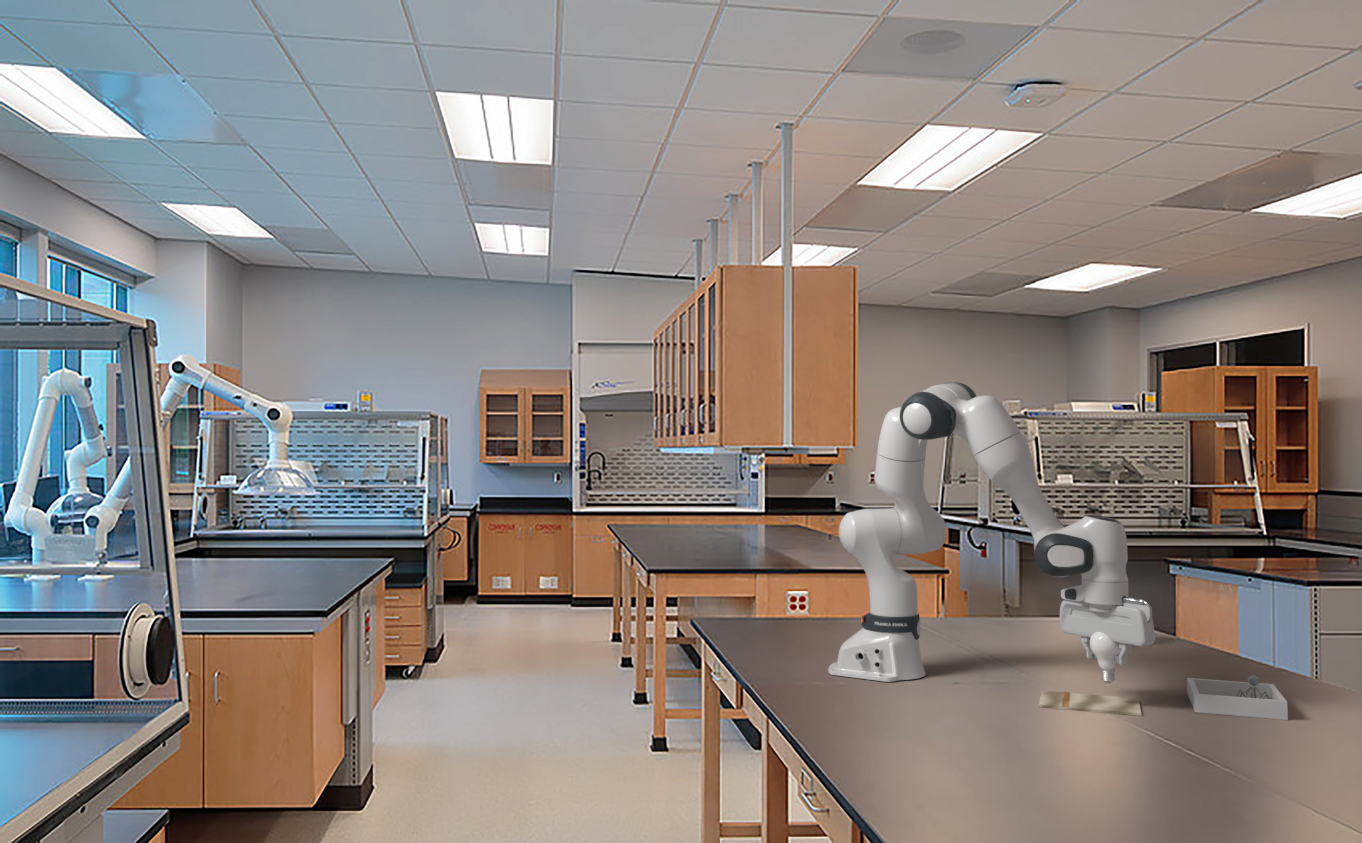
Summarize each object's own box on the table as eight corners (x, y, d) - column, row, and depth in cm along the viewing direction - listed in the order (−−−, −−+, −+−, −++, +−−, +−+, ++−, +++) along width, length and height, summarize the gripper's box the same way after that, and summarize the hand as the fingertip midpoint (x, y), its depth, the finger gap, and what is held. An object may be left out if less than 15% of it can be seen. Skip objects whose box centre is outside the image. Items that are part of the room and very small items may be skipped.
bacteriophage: (1237, 711, 199) (1236, 677, 199) (1231, 701, 206) (1231, 669, 206) (1277, 714, 196) (1276, 680, 196) (1270, 704, 203) (1269, 672, 204)
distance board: (1038, 706, 201) (1038, 703, 202) (1041, 692, 213) (1041, 689, 214) (1141, 715, 194) (1141, 712, 194) (1138, 700, 206) (1138, 697, 206)
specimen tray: (1194, 712, 197) (1194, 694, 197) (1187, 694, 212) (1187, 677, 212) (1287, 719, 191) (1287, 701, 191) (1273, 700, 206) (1273, 683, 206)
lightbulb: (1128, 685, 199) (1125, 630, 200) (1095, 685, 200) (1092, 630, 201) (1120, 680, 205) (1118, 626, 206) (1088, 679, 206) (1086, 626, 207)
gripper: (1161, 598, 196) (1162, 669, 196) (1073, 587, 214) (1075, 652, 213) (1141, 601, 193) (1142, 672, 192) (1054, 589, 211) (1055, 654, 210)
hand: (1106, 661), depth 203 cm, fingers closed on lightbulb, 5 cm apart
